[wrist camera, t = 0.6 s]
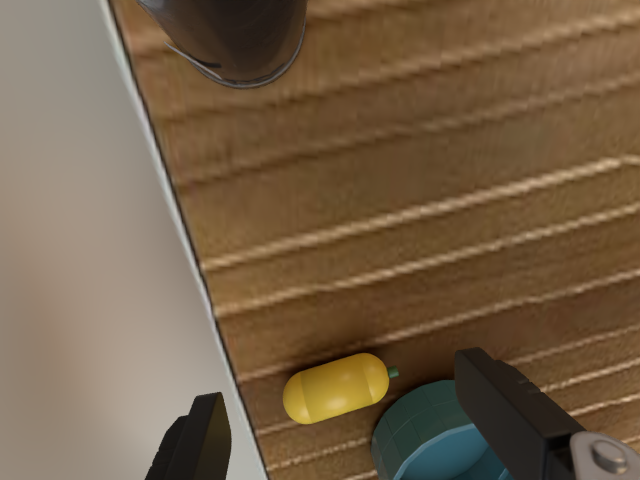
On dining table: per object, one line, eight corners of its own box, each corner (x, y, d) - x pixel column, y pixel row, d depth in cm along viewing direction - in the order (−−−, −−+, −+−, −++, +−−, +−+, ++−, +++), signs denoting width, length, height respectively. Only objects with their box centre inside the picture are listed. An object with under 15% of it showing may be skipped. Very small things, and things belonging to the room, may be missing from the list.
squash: (290, 403, 31) (291, 442, 27) (277, 368, 30) (276, 403, 25) (392, 371, 31) (409, 404, 27) (383, 335, 30) (400, 364, 26)
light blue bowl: (345, 423, 32) (358, 480, 26) (471, 351, 32) (512, 393, 26) (405, 507, 36) (428, 572, 31) (517, 444, 36) (562, 498, 30)
